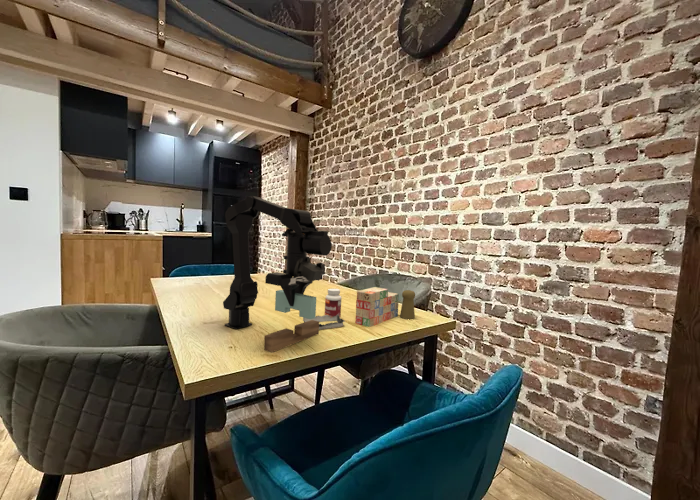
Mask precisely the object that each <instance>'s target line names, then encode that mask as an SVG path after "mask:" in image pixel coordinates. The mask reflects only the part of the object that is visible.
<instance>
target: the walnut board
mask: <svg viewBox="0 0 700 500" xmlns="http://www.w3.org/2000/svg"><path fill="white" fill-rule="evenodd" d="M319 324H320V322H319V321H315V320H310V321H307V322H304V321H303V322H302V323H301V322H300V323H299V324H294V327H293V328H294V329H290V328H287V327H286V328H284V329H280V330H276V331H274V332H271V333H268V334H265V335H264V341H263V342H264V344H263V350H264V351H267V352H269V353H274V352H276V351H279V350H282V349H284V348H288V347H289V346H292V345H294V344H297V343H299V342H301V341H304V340H307V339H309V338H312V337H314V336H316V335H319V334H320V333H319V331H320V330H319Z"/></svg>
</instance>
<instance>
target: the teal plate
mask: <svg viewBox="0 0 700 500" xmlns="http://www.w3.org/2000/svg"><path fill="white" fill-rule="evenodd" d="M274 299H275V301H274V303H275V304H274V305H275V306H274V310H275V311H276V312H279V313H284V314H287V313H289V312H291V310H295V311H299V312H298V315H299V318H302V319H303V318H307V319H313V318H315V317H316V316H317V315H316V313H317V296H314V295H313V296H312V295H309V294H305V293H304V294H299V293H295V299H294V306H290V305H289V303H288V300H287V298H286V296H285V293H284V291H283V290H282V289H278V290H275V298H274Z"/></svg>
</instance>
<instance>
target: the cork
mask: <svg viewBox="0 0 700 500" xmlns="http://www.w3.org/2000/svg"><path fill="white" fill-rule="evenodd" d="M401 297H402V298H403V299H402V303H401V307H400V314H399V318H400V319H403V320H408V319H409V320H408V321H411V320H410V319H413V320H415V319H416V316H415V300H414V299H416V293H415V291H413V290H411V289H405V290H403V291H402V293H401Z"/></svg>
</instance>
